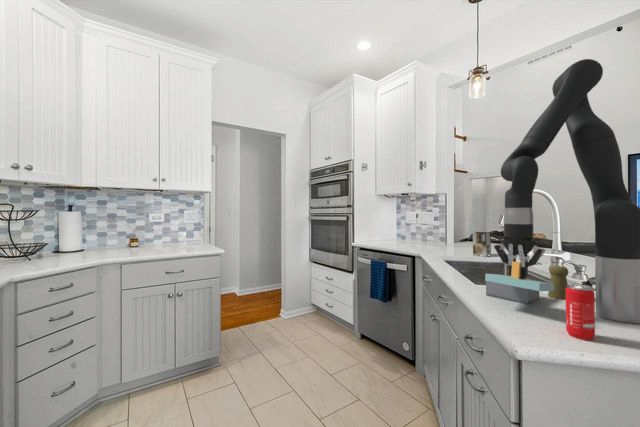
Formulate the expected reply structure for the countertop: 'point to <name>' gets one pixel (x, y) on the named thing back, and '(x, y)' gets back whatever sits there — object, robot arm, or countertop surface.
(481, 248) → the coffee box
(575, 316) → the beverage can
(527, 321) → the countertop surface
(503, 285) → the tub
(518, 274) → the lid
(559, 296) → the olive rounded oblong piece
